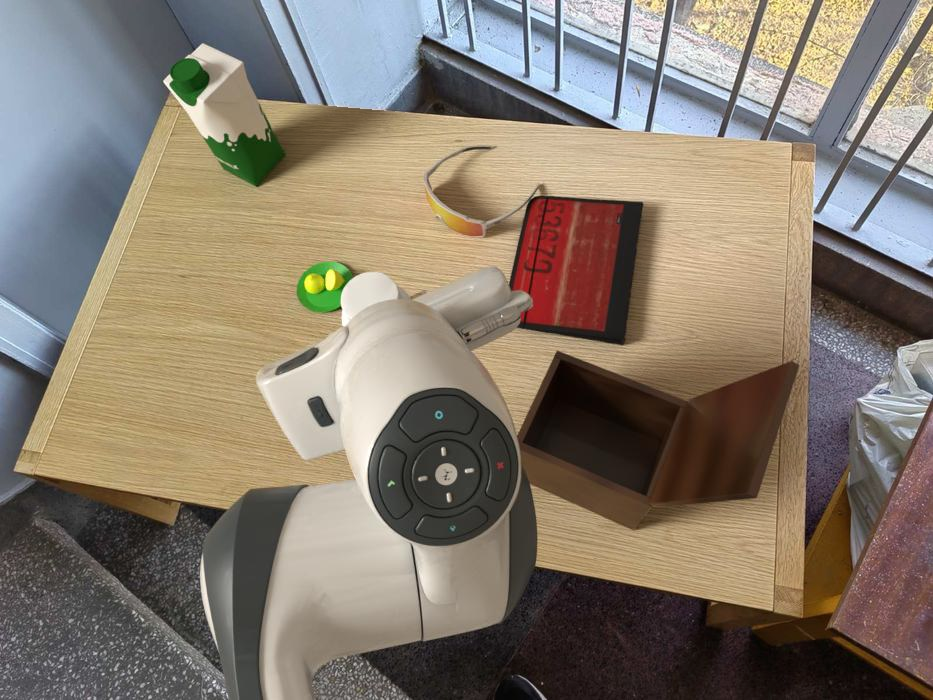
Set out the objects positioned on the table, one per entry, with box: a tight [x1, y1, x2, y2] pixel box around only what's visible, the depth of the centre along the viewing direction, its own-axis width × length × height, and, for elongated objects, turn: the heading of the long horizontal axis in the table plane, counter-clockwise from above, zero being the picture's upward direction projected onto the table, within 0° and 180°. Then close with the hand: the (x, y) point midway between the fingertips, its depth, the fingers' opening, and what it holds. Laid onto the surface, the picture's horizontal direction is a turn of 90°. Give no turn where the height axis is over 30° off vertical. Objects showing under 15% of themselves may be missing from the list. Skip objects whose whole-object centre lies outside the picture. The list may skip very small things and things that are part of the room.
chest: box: [517, 350, 688, 531], centre depth 75 cm, size 15×12×13 cm
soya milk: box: [162, 42, 286, 188], centre depth 96 cm, size 9×9×20 cm
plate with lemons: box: [296, 261, 354, 313], centre depth 93 cm, size 8×8×3 cm
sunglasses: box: [423, 144, 541, 239], centre depth 97 cm, size 14×15×5 cm
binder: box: [508, 195, 644, 346], centre depth 91 cm, size 16×2×21 cm
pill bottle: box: [340, 271, 411, 327], centre depth 58 cm, size 6×6×11 cm
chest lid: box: [649, 360, 800, 509], centre depth 59 cm, size 16×12×1 cm
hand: (380, 319), depth 58 cm, fingers closed on pill bottle, 6 cm apart
